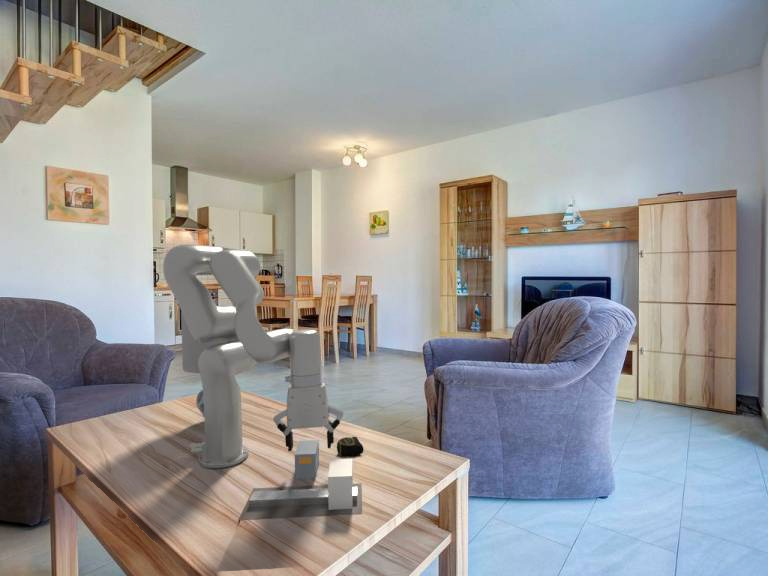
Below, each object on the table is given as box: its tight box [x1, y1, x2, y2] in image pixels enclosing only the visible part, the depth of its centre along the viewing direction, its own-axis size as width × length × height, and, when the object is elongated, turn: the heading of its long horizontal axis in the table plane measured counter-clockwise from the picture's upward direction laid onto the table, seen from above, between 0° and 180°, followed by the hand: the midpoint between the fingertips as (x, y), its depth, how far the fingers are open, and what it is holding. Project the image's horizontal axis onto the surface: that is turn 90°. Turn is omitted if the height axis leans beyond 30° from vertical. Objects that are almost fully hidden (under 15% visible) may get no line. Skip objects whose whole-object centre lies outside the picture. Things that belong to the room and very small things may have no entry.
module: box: [294, 439, 320, 480], centre depth 102 cm, size 5×8×7 cm, turn 4°
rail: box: [248, 487, 357, 507], centre depth 89 cm, size 23×4×2 cm, turn 94°
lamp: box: [180, 311, 225, 424], centre depth 139 cm, size 22×22×38 cm
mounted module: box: [327, 457, 354, 510], centre depth 89 cm, size 5×8×7 cm, turn 4°
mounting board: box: [237, 482, 363, 525], centre depth 89 cm, size 25×12×1 cm, turn 94°
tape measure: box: [336, 436, 364, 458], centre depth 113 cm, size 7×7×4 cm
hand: (310, 447), depth 101 cm, fingers open, 9 cm apart
